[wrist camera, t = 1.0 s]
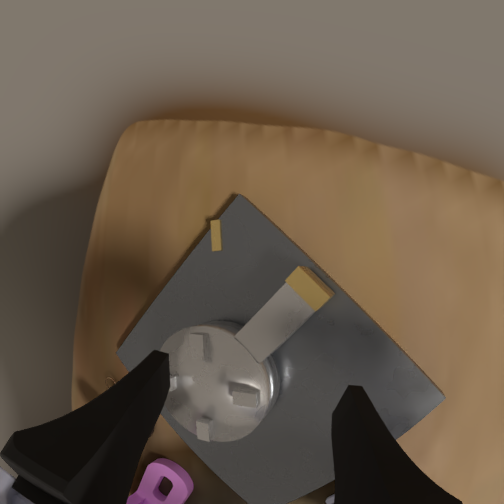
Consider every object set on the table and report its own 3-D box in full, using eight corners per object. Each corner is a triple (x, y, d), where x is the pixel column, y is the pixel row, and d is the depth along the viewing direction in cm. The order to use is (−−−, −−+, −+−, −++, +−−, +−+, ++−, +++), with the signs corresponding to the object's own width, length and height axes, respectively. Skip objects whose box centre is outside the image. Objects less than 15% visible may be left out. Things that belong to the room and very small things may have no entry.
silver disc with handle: (228, 441, 22) (205, 463, 18) (161, 364, 24) (132, 375, 21) (368, 326, 18) (368, 338, 15) (275, 235, 21) (256, 228, 18)
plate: (442, 392, 17) (446, 398, 16) (265, 507, 21) (260, 514, 20) (242, 194, 24) (235, 190, 23) (122, 348, 28) (113, 350, 27)
